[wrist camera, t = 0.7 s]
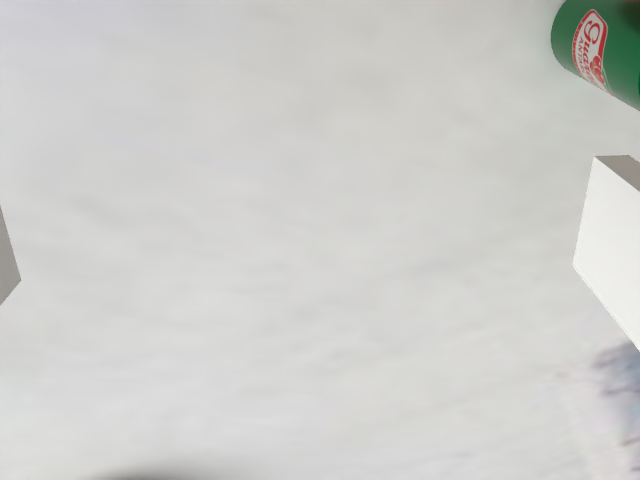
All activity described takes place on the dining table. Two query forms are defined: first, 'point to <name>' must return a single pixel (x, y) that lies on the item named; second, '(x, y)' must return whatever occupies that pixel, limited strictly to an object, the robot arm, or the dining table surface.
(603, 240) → the robot arm
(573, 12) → the soda can
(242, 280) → the dining table surface
